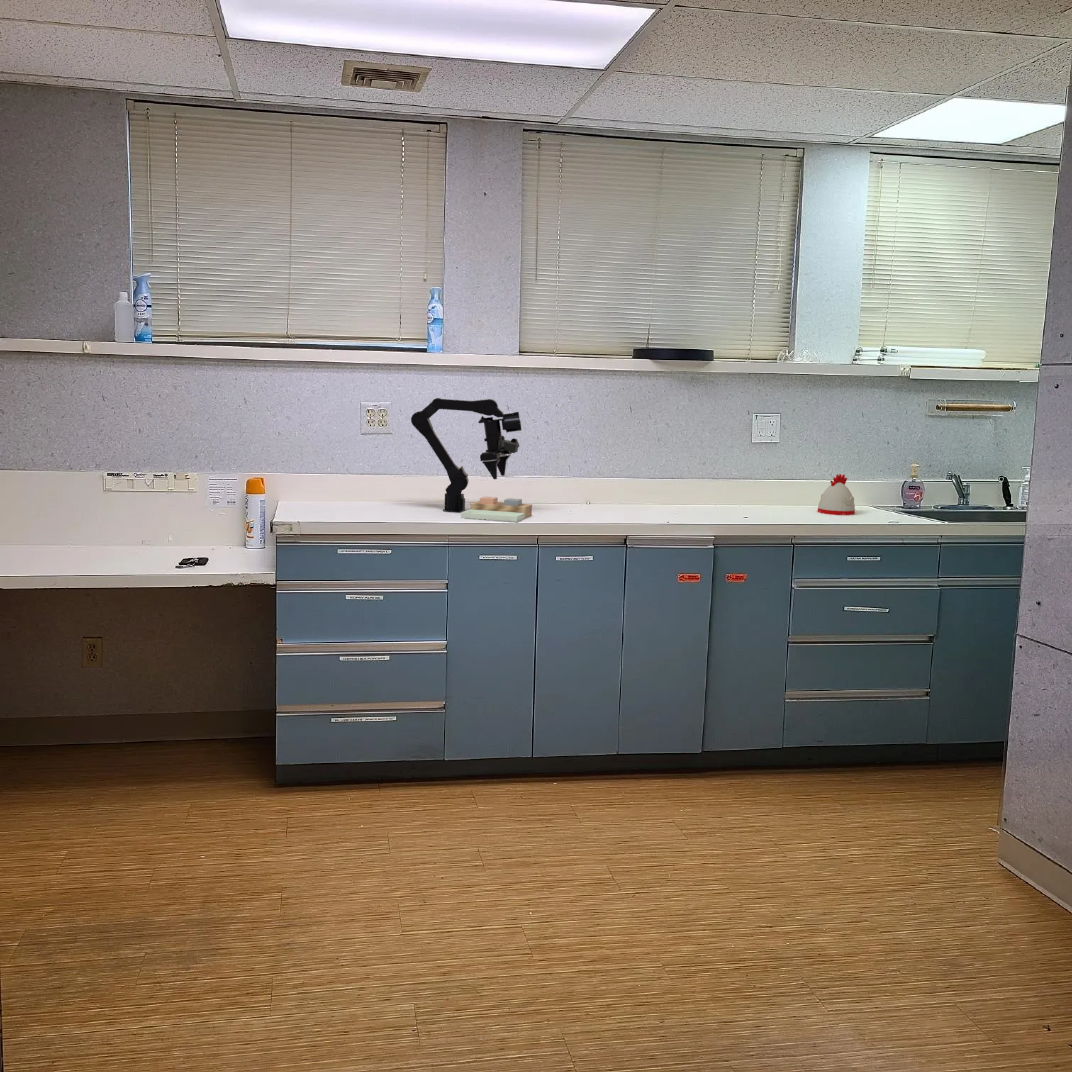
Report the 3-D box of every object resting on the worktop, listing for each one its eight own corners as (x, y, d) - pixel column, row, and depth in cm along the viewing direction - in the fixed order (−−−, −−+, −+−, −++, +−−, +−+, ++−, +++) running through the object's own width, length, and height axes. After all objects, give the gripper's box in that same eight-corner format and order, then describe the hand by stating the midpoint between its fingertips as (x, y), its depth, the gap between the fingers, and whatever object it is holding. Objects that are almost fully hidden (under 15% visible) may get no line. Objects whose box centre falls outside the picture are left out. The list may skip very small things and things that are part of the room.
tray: (461, 518, 370) (461, 512, 369) (470, 514, 379) (470, 509, 378) (516, 522, 364) (516, 516, 364) (524, 518, 373) (524, 513, 373)
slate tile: (504, 505, 376) (504, 499, 376) (508, 503, 381) (508, 498, 381) (517, 506, 375) (517, 500, 375) (521, 504, 380) (521, 499, 379)
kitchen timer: (862, 514, 414) (865, 475, 412) (836, 516, 407) (839, 476, 405) (835, 509, 426) (838, 472, 424) (810, 511, 419) (812, 472, 417)
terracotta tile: (479, 503, 379) (479, 498, 378) (484, 502, 383) (484, 496, 383) (493, 504, 377) (493, 499, 377) (497, 503, 382) (497, 497, 382)
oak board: (470, 514, 379) (470, 503, 378) (478, 511, 387) (478, 500, 387) (524, 518, 374) (525, 507, 373) (531, 515, 382) (531, 504, 381)
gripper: (507, 434, 372) (512, 479, 374) (522, 429, 390) (527, 471, 392) (476, 437, 375) (482, 482, 378) (493, 432, 393) (499, 474, 395)
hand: (499, 477), depth 386 cm, fingers open, 9 cm apart
